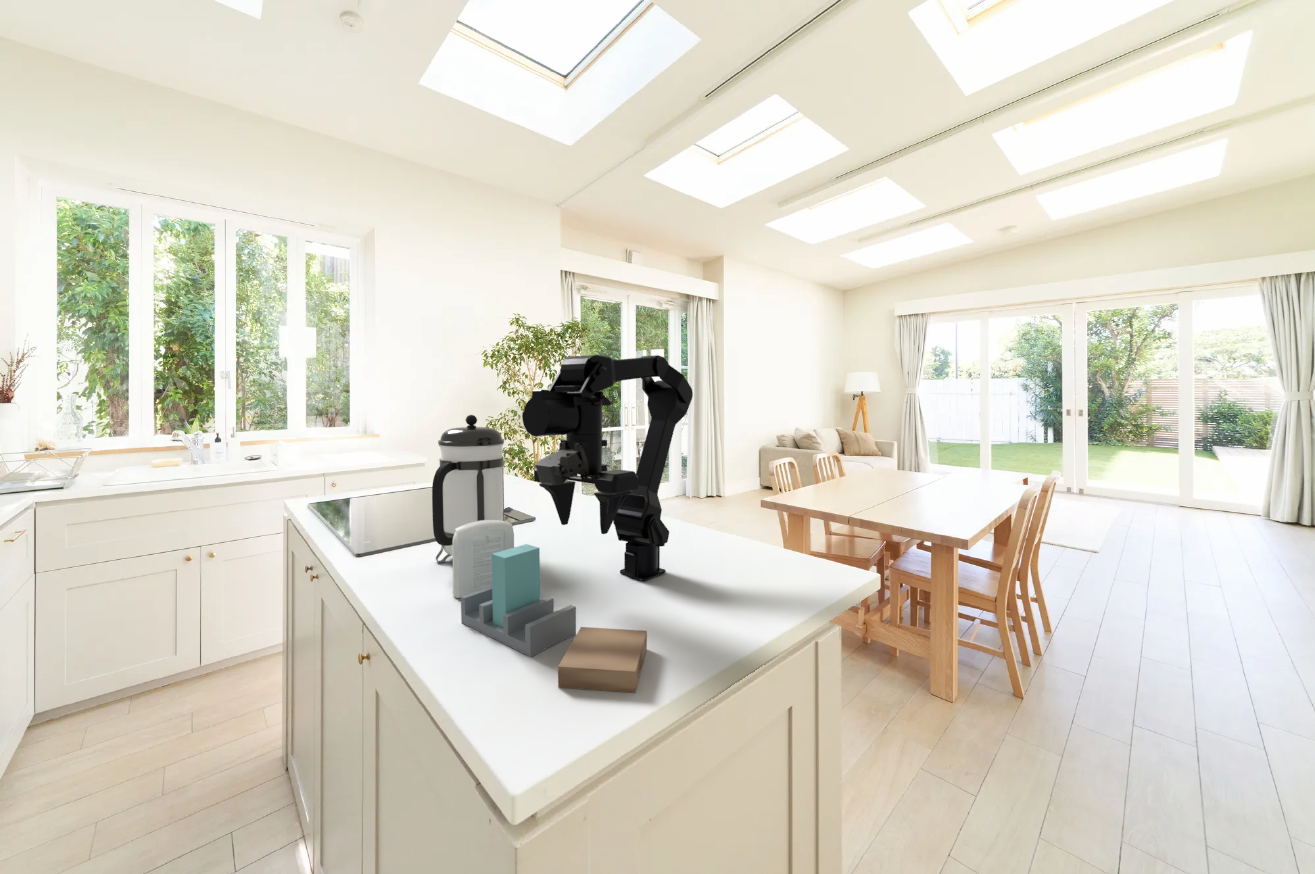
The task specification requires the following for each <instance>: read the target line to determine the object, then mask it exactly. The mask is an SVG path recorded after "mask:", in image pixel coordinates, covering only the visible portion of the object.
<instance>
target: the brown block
mask: <svg viewBox="0 0 1315 874" xmlns="http://www.w3.org/2000/svg"><path fill="white" fill-rule="evenodd" d="M647 633H648V631H647V630H643V629H642V630H641V629H623V628H607V627H606V628H604V627H589V626H588V627H587V626H580V628H579V629H578V632H576V634H575V635H574V636H575V637H574V638H573V640H572V642H571V643H570V645H569V647H568V648H567V650H566V652H565V654H564V655H563V657H562V658H561V661H560V662H559V664H558V666H557V679H558V681H557V683H558V684H557V687H558V688H561V689H562V688H563V689H564V688H565V689H577V690H579V689H580V690H588V691H589V690H591V691H604V692H617V693H618V692H619V693H620V692H621V693H631V692H634V693H633V694H636V691H637V688H638V683H639V680H640V676H641V672H642V668H643V665H644V661H645V656H646V653H647V649H648V647H647V646H648V642H647V641H648V639H647V638H648V636H647V635H648V634H647Z"/></svg>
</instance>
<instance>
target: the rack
mask: <svg viewBox="0 0 1315 874" xmlns="http://www.w3.org/2000/svg"><path fill="white" fill-rule="evenodd" d="M554 602H555V599H554V597H552V596H551V597H550V596H547V597H545V598H543V599H542V598H541V599H540V601H537V602H535V603H532V604H530V605H527V606H525V607H522V608H520V609H517V610H515V611H512V612H510V613H507V614H505V615H503V627H501V626H499V625H496V624H494V623H493V601H492V586H490V587H488V588H485V589H482V590H479V591H476V592H473V593H470V594H467V595H464V596H461V598H460V615H461V618H460V620H461V624H463V625H465V626H467V627H469V628H471V629H473V630H475V631H477V632H479V633H481V634H484V635H485V636H487V637H489V638H491V639H493V640H495V641H497V642H499V643H501V644H503V645H506V646H508V647H509V648H512V649H514V650H515V651H517V652H520V653H521V654H524V655H525V656H527V657H528V658H531V657H534V656H536V655H537V654H539V653H542V652H543V651H546V650H547V649H549V648H551V647H554V646H555V645H557V644H559V643H561V642H563V641H565V640H567V639H569V638H570V637H573V636H576V635H577V611H576V610H577V607H576V605H572V604H569V605H568V606H566V607H563V608H560V609H558V610H555V609H554V607H555V606H554V604H555V603H554Z"/></svg>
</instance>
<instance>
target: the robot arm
mask: <svg viewBox="0 0 1315 874" xmlns="http://www.w3.org/2000/svg"><path fill="white" fill-rule="evenodd" d="M657 377H658V378H659V379H660V380H656V381H655V380H654V378H657ZM636 379H641V381H642V382H641V385H642V386H641V387H642V388H641V389H642V391H643V392H644V393H645V395H646V396H647V408H648V411H649V414H650V421H649V425H648V428H647V429H648V430H647V432H646V436H645V439H644V440H645V441H644V444H643V448H642V451H641V454H640V459H639V460H638V461H639V462H638V464H637V468H636V471H633V470H627V469H626V470H625V469H624V470H623V469H613V470H611V469H610V470H608V465H607V464H602V463H603V459H602V458H603V457H602V456H603V447H608V439H603V434H602V433H603V406H605V407H607V406H608V407H610V406H611V405H612V402H611V400H610V399H609V398H608V397H606V396H605V394H604V393H603V391H605V390H607V389H608V388H611V387H613V386H614V385H615V383H618V382H620V381H621V382H623V381H627V380H628V381H629V380H636ZM693 393H694V392H693V389H692V387H691V385H690V383H689V382H688V381H687V379H686V377H685V376H684V375H683V374H682V373H681V372H680V371H678V370H677V369H675V368H674V367H673V366H671V365H670V364H669V362H668V361H667V359H666V358H665V357H664V356H662V355H659V354H657V355H655V354H654V355H643V356H641V357H634V358H633V357H631V358H623V359H622V358H619V359H616V358H615V359H614V358H613V357H610V356H605V355H599V354H590V355H589V354H587V355H573V356H572V355H571V356H568V357H565V358H564V359H563V361H562V363H561V365H560V369H559V371H558V372H557V374H556V376H555V377H554V380H553V381H552V383H551V384H550V385H549V388H548V389H532V391H531V398H530V399H529V400H527V402H526V403H525V405H524V409H523V411H522V413H521V415H522V417H521V418H522V424H523V427H524V429H525V431H526V432H527V433H528V434H530V435H531V436H532V437H546V436H547V437H549V436H564V435H565V439H561V440H560V442H559V450H557V451H555V452H553V453H550V454H548V455H547V456H545V457H543V458H542V459H539V460H538V461H536V462H535V463H534V466H535V469H534V470H533V481H534V482H537V483H538V485H539V487H541V488H543V489H544V490H545V491H546V492H548V493H549V494H550V496H551V498H552V502H553V504H554V505H555V506H554V507H555V510H556V512H557V514H558V518H559V520H560V523H561V524H560V525H562V526H566V525H568V524H569V521H570V517H571V511H572V505H573V498H574V493H575V489H576V482H579V483H584V484H585V483H587V484H593V485H594V487H595V488H596V490H597V492H593V495H594V496H595V498H596V499H597V500H598V502H599V526H600V527H599V528H600V534H601V535H606V534H608V533H609V531H610V530H611V529H610V528H611V526H612V524H613V525H614V528H615V532H616V535H617V539H618V541H620V542H625V551H624V555H623V556H624V568H623V569H620V570H619V574H622V575H623V576H624V575H625V576H628V577H630V578H633V579H636V580H639V581H642V582H644V581H648V580H649V579H652V578H655V577H657V576H661V575H663V574H666V572H667V571H666V569H665V568H661V567H660V565H661V564H660V563H661V562H660V559H661V558H660V553H661V551H660V549H661V548H660V547H665V545H666V544H667V543H668V541H669V536H670V531H669V529H668V528H667V526H666V525H665V524H664V522H663V521H662V520H661V518H662V517H661V515H662V510H663V509H662V505H661V501H660V499H659V495H658V493H659V489H660V486H661V482H662V477H663V474H664V471H665V465H666V463H667V459H668V455H669V450H670V447H671V443H672V439H673V436H674V432H675V429H676V425H677V424H678V423H679V422H680V421H681V420H682V418H684V417H685V416H686V415H687V413H688V411H689V407H690V406H691V405H690V404H691V402H692V400H693V397H694V396H693Z"/></svg>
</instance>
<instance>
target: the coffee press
mask: <svg viewBox="0 0 1315 874" xmlns="http://www.w3.org/2000/svg"><path fill="white" fill-rule="evenodd" d="M464 421H465V423H466V424H467V426H466V427H465V426H462V427H454V428H449V429H448V430H445V431H444V432H443V433H442V434H441V436H440V439H439V440H438V441H437V442H438V444H437V445H438V447H440V449H439V450H440V451H439V452H440V458H439V466H438V468H437V469H436V471H435V473H434V476H433V480H432V486H431V487H432V488H431V492H432V493H431V497H432V498H431V501H432V504H431V506H432V508H431V509H432V530H433V531H432V532H433V536H434V539H435V541H436V543H437V544H438V545H439V546H441V548H440V550H439V552H438V553H437V554H436V556H435V560H436V562H437V563H438V564H443V563H444V562H445V561H446V560H447V559H448V558H449V557H453V536H454V530H455V529H456V528H458V527H460V526H463V525H465V524H468V523H472V522H476V521H482V520H501V521H505V494H504V493H505V491H504V490H505V488H504V486H505V485H504V482H505V481H504V465H505V464H504V462H505V461H504V460H505V459H504V456H503V446H504V444H505V439H504V438H503V437H502V434H501V433H500V431H499V430H496V429H495V428H492V427H488V426H487V427H486V426H485V427H483V426H476V424H477V422H478V419H477V417H476V415H474V414H468V415H467V416H466V418H465V420H464ZM443 552H445V554H446V555H445V556H444V557H443V558H442V559H441V560H439V558H440V556H441V555H442V554H443Z"/></svg>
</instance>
